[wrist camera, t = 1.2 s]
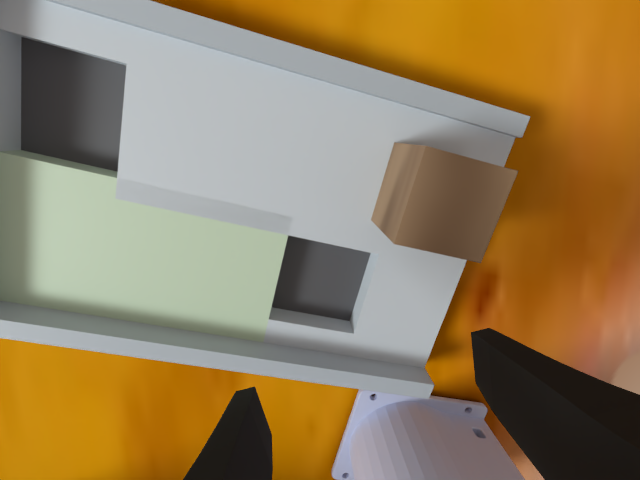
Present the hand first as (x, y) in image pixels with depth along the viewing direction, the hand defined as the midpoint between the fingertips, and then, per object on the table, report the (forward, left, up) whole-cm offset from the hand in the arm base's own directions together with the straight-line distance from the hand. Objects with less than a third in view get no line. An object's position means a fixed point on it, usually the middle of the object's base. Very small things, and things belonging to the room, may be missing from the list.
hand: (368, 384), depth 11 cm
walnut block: (-3, -6, -8) cm, 10 cm away
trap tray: (+5, -3, -10) cm, 11 cm away
